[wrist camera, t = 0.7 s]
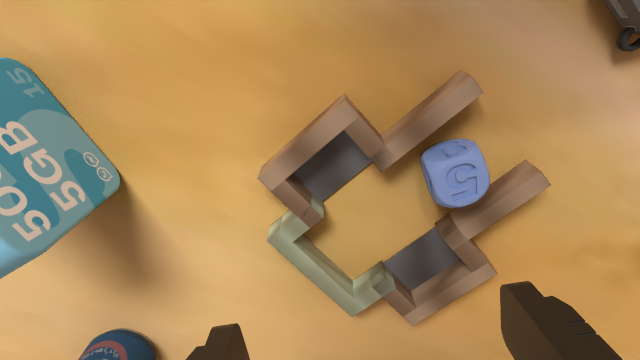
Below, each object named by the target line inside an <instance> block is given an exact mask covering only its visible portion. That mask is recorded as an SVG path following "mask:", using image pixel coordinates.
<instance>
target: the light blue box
mask: <svg viewBox="0 0 640 360" xmlns="http://www.w3.org/2000/svg"><path fill="white" fill-rule="evenodd" d="M119 186H120V176H119V174H118V172H117V170H116V168H115V167H114V166H113V165H112V163H111V162H110V161H109V160H108V159H107V158H106V156H105V155H104V154H103V153H102V152H101V151H100V149H99V148H98V147H97V146H96V145H95V144H94V142H93V141H92V140H91V139H90V138H89V137H88V136H87V134H86V133H85V132H84V131H83V130H82V129H81V127H80V126H79V125H78V124H77V123H76V122H75V120H74V119H73V118H72V117H71V116H70V115H69V113H68V112H67V111H66V110H65V109H64V108H63V106H62V105H61V104H60V103H59V102H58V101H57V100H56V98H55V97H54V96H53V95H52V94H51V93H50V91H49V90H48V89H47V88H46V87H45V86H44V84H43V83H42V82H41V81H40V80H39V79H38V77H37V76H36V75H35V74H34V73H33V72H32V71H31V70H30V69H29V68H28V67H26V66H25V65H23V64H22V63H20V62H18V61H16V60H13V59H10V58H0V279H1V278H2V277H4V276H6V275H7V274H9V273H11V272H13V271H14V270H16V269H18V268H19V267H21V266H23V265H24V264H26V263H28V262H29V261H31V260H33V259H34V258H36V257H38V256H40V255H41V254H43V253H44V252H45V251H47V250H48V249H49V248H50V247H51V246H52V245H54V244H55V243H56V242H57V241H58V240H59V239H61V238H62V237H63V236H64V235H65V234H66V233H68V232H69V231H70V230H71V229H72V228H73V227H75V226H76V225H77V224H78V223H79V222H80V221H82V220H83V219H84V218H85V217H86V216H87V215H89V214H90V213H91V212H92V211H93V210H94V209H96V208H97V207H98V206H99V205H100V204H101V203H103V202H104V201H105V200H106V199H107V198H108V197H110V196H111V195H112V194H113V193H114V192H115V191H117V190H118V188H119Z"/></svg>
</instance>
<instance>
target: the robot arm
mask: <svg viewBox="0 0 640 360" xmlns="http://www.w3.org/2000/svg"><path fill="white" fill-rule="evenodd" d="M500 305H501V330H502V334H503V338H504V341H505V343H506V346H507V348H508V349H509V351H510V353H511V354H512V356H513V358H514V359H515V360H622V359H621V357H620V356H619V355H618V354H617V353H616V352H615V351H614V350H613V349H612V348H611V347H610V346H609V345H608V344H607V343H606V342H605V341H604V340H603V339H602V338H601V337H600V336H599V335H597V334H596V332H595V330H594V329H593V328H592V327H591V326H590V325H589V324H588V323H585V320H584V319H583V318H582V317H581V316H580V315H579V314H578V313H577V312H576V311H575V310H574V309H573V308H572V307H571V306H570V305H568V304H566V303H564V302H563V301H561V300H559V299H557V298H556V297H554V296H550V297H543V295H542V294H541V293H540V292H539V291H538V290H537V289H536V288H535V286H534V285H533V284H532V283H531V282H529V281H525V282H518V283H511V284H505V285H502V286H501V288H500ZM186 360H250V358H249V355H248V352H247V348H246V345H245V342H244V338H243V335H242V332H241V329H240V326H239V325H238V324H237V323H236V324H229V325H222V326H215V327H213V328H212V329H211V331H210V334H209V336H208V339H207V342H206V344H205V346H199V347H196V348H195V349H194V351H193V352H192V353H191V354H190V355H189V356H188V358H187V359H186Z"/></svg>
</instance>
